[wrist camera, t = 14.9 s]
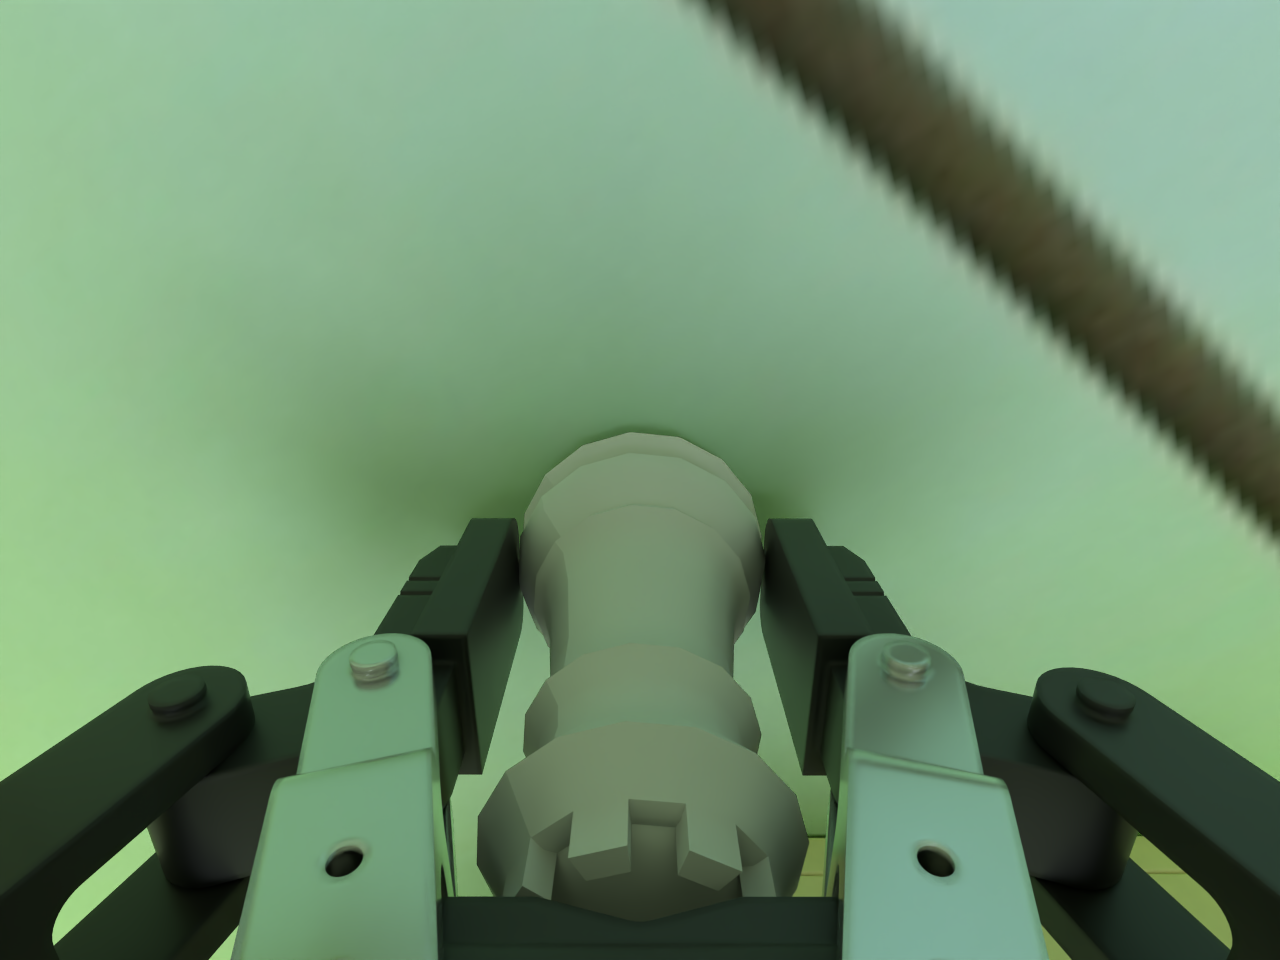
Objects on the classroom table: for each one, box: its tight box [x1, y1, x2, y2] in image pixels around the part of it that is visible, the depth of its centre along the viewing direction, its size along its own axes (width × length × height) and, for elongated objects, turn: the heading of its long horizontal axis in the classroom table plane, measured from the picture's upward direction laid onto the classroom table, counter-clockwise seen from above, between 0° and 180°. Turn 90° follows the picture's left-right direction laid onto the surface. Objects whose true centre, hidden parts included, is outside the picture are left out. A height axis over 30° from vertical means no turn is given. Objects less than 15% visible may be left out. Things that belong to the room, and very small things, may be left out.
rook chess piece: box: [477, 432, 809, 922], centre depth 10 cm, size 4×4×8 cm
